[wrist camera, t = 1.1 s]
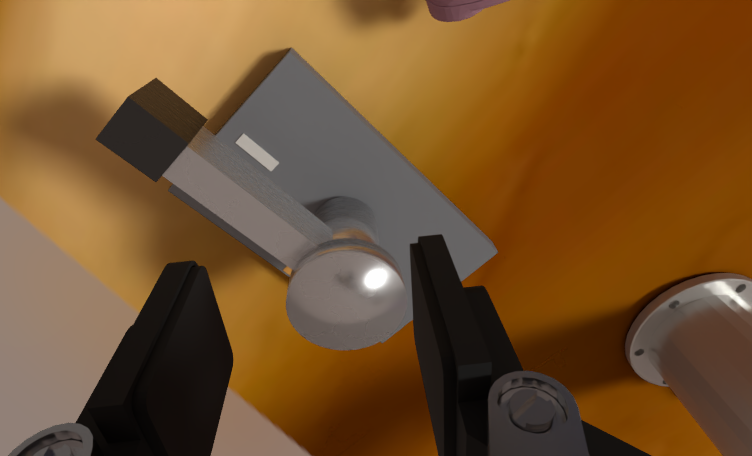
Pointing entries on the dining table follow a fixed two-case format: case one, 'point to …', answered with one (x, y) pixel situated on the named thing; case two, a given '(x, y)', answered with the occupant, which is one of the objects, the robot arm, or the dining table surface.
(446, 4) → the video game controller
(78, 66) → the dining table surface
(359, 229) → the lever
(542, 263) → the dining table surface
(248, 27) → the dining table surface
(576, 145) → the dining table surface
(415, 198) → the base plate
